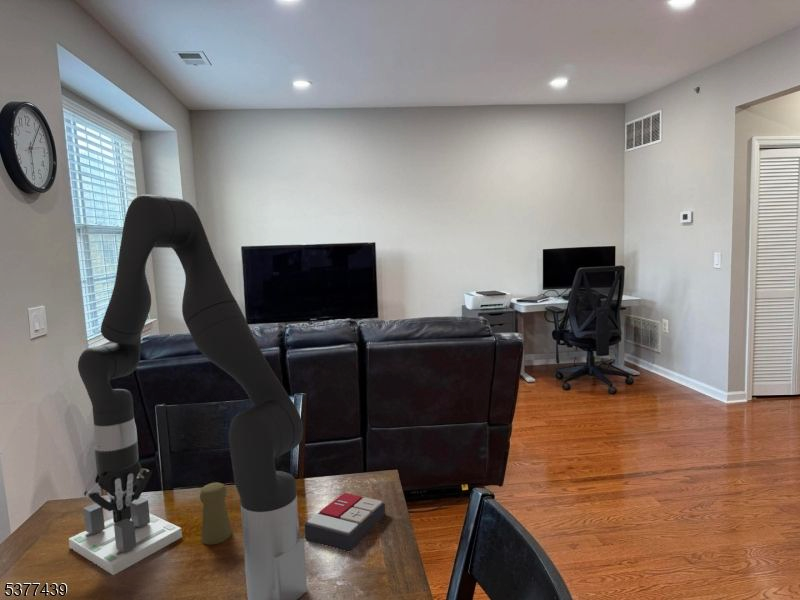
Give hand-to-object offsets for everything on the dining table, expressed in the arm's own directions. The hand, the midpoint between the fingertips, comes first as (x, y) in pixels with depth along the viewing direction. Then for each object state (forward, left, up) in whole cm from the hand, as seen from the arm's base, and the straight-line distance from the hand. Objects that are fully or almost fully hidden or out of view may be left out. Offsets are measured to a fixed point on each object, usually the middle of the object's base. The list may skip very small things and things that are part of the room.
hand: (123, 524), depth 102 cm
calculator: (-36, -28, -5) cm, 46 cm away
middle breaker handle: (0, -4, -2) cm, 4 cm away
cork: (-14, -11, -4) cm, 19 cm away
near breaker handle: (-6, +3, -2) cm, 7 cm away
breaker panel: (0, 0, -4) cm, 4 cm away
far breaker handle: (+6, +3, -2) cm, 7 cm away
